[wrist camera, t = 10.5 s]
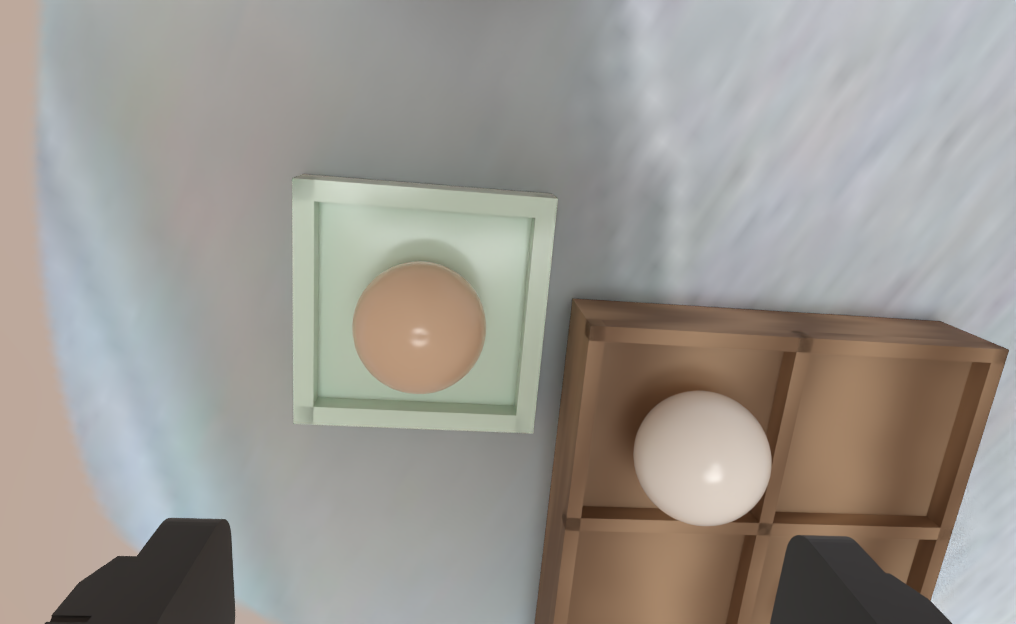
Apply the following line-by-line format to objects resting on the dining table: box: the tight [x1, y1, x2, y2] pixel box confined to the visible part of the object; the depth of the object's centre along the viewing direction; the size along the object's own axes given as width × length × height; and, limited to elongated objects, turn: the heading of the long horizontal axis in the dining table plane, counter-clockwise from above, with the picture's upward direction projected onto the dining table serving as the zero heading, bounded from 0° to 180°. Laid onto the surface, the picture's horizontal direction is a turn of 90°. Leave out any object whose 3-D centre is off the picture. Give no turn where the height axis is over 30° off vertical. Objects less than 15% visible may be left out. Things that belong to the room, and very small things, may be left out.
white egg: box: [633, 390, 772, 526], centre depth 25 cm, size 5×5×5 cm
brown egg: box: [352, 261, 486, 394], centre depth 25 cm, size 5×5×5 cm
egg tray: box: [535, 299, 1009, 624], centre depth 30 cm, size 17×17×4 cm
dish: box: [292, 174, 558, 433], centre depth 27 cm, size 10×10×2 cm
